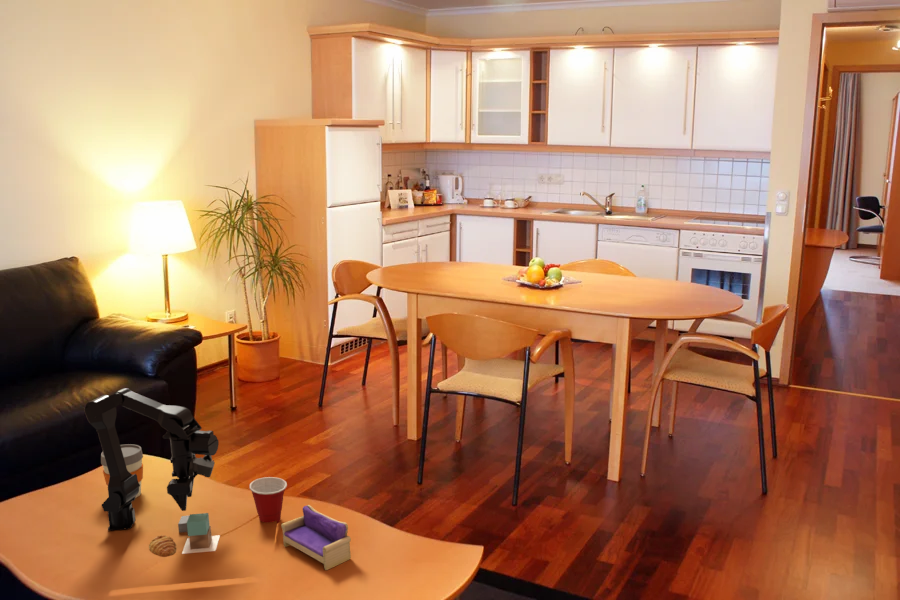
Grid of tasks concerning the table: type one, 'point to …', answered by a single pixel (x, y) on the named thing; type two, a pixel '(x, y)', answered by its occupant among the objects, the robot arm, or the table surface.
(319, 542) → the toy sofa
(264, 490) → the plastic cup
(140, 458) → the reusable coffee cup
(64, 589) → the table surface
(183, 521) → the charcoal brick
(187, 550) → the base plate
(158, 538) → the pastry
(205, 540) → the walnut brick
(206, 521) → the teal brick
